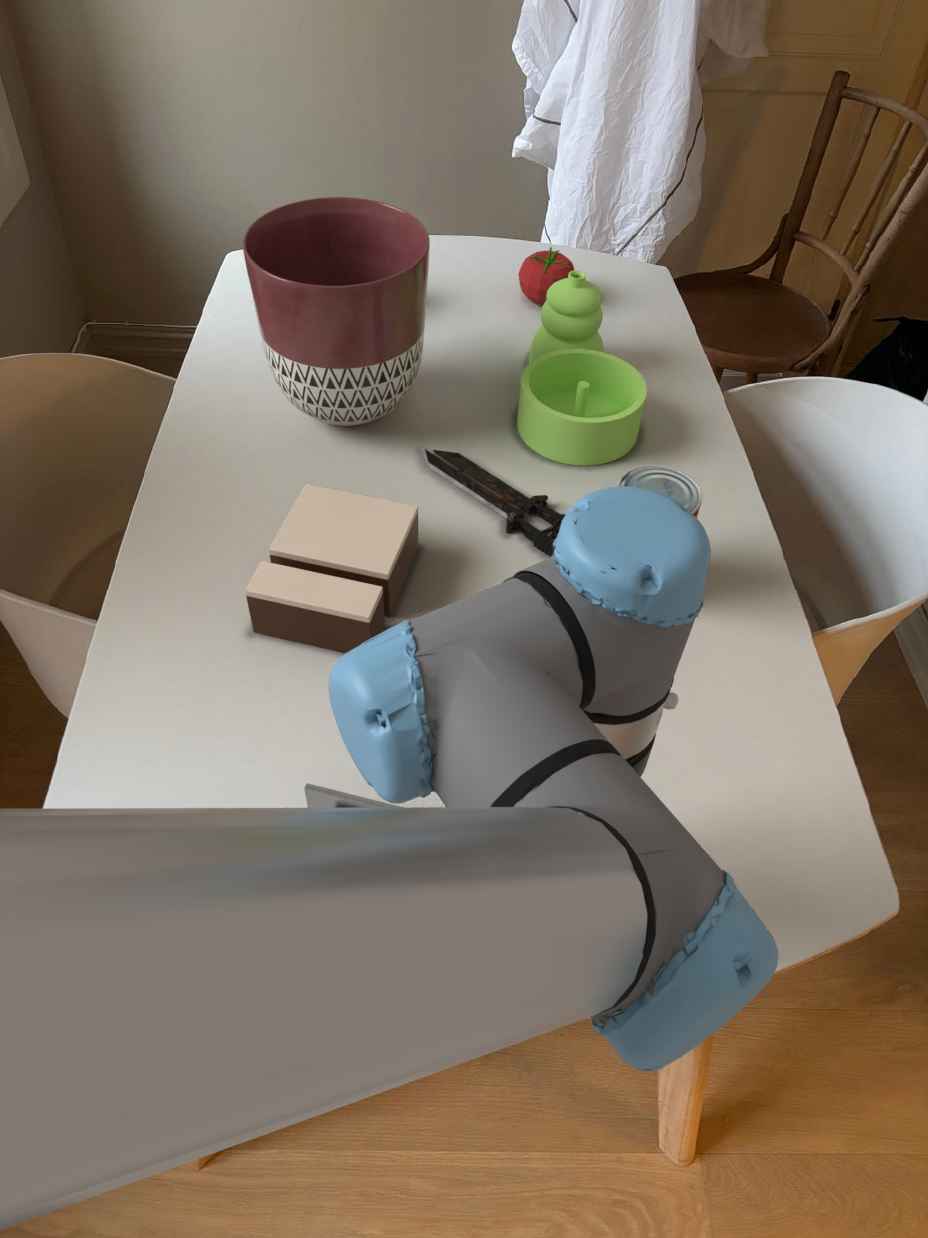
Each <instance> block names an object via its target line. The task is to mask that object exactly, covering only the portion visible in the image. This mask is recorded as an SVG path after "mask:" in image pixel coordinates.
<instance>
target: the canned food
mask: <svg viewBox="0 0 928 1238" xmlns="http://www.w3.org/2000/svg"><path fill="white" fill-rule="evenodd" d="M619 486H627V487H639V488H644V489H649V490H652V491H656V492H659V493H661V494H664V495H666V496H668V497H670V498H672V499H674V500H676V501H678V502H679V503H681V505H682V506H683V507H684V508H685V509H686V510H687V511H689V512H691V513H692V514H693V516H695V517H696V518H697V519H698V515H699V512H700V508H701V505H702V501H703V494H702V491H701V488H700V486H699V485H698V483H697V482H696V481H695V480H694V479H693V478H692V477H691V476H689V474H687V473H685V472H683V471H681V470H679V469H677V468H674V467H671V466H669V465H662V464H644V465H639V466H636V467H633V468H631V469H629V470H627V471H626V472H625V473H624V474H623V475H622V476H621V477H620V478H619V481H618V483H617V487H619Z"/></svg>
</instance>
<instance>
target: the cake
mask: <svg viewBox="0 0 928 1238" xmlns="http://www.w3.org/2000/svg"><path fill="white" fill-rule="evenodd" d="M418 550H419V506H418V505H416V504H410V503H404V502H400V501H395V500H389V499H385V498H380V497H374V496H370V495H365V494H360V493H356V492H350V491H346V490H345V491H344V490H341V489H335V488H330V487H325V486H320V485H315V484H311V483H310V484H309V483H305V484H304V486H303V488H302V489H301V492H300V493H299V495H298V497H297V498H296V500H295V502H294V504H293V506H292V508H291V509H290V511H289V512H288V514H287V516H286V518H285V520H284V521H283V523H282V525H281V527H280V528H279V530H278V531H277V534H276V535H275V537H274V539H273V540H272V542H271V544H270V545H269V547H268V554H269V560H270V561H269V562H270V563H274V564H279V565H284V566H288V567H293V568H297V569H302V570H307V571H311V572H316V573H321V574H325V575H330V576H335V577H339V578H344V579H349V580H353V581H358V582H363V583H367V584H372V585H377V586H381V587H383V602H384V617H391V615H392V612H393V611H394V608H395V606H396V603H397V601H398V598H399V596H400V594H401V591H402V589H403V587H404V584H405V582H406V579H407V577H408V574H409V572H410V569H411V567H412V564H413V563H414V560H415V558H416V555H417V553H418Z"/></svg>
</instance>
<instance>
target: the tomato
mask: <svg viewBox="0 0 928 1238" xmlns="http://www.w3.org/2000/svg"><path fill="white" fill-rule="evenodd" d="M571 271H575V266H574V264H573V262H572V261H571V260H570V259H569V258H568V257H567V256H566V255H564V253H561V250H559V249H558V250H555V251H554V250H553V247H552V246H550V247H549V250H540V251H539V250H538V251H536V252H534V253H532V254H530V255H528V256H527V257H525V258H524V260H523V262H522V263H521V266H520V268H519V271H518V283H519V287H520V291H521V292H522V294H523V295H524V296H525V297H526V298H527V299H528V300H529V301H530V302H531V303H533V304H535V305H538V306H543V305H544V303H545V302H546V300H547V299H546V297H547V291H548V289H549V288H550V287H551V286H552V284H554V283H555V282H557V281H559V280H562V279H565V278H568V274H569V272H571Z"/></svg>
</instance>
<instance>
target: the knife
mask: <svg viewBox="0 0 928 1238" xmlns="http://www.w3.org/2000/svg"><path fill="white" fill-rule="evenodd" d="M421 452H422V455H423V459H424V463H425V466H426V467H428V468H429V469H430V470H432V471H434V472H435V473H436V474H438V475H440V476H442V477H443V478H444V479H446V480H448V481H449V482H451V483H452V484H454V485H455V486H456V487H458V488H460V489H461V490H463V491H464V492H466V493H467V494H469V496H472V497H473V498H475V499H476V500H478V501H479V502H481V503H482V504H484V505H485V506H486V507H488V508H490V509H491V510H493V511H495V512H496V513H497V514H499V515H500V516H502V517H503V518H505V519H506V524H505V525H506V526H505V533H507V534H509V533H511V532H513V531H514V530H515V529H517V530H519V531H520V532H521V533H522V535H523V536H524V537H525V539H527V540H528V541H530V542H532V546H533V547H536V549H537V550H540V551H541V552H542V553H544V554H545V555H547V556H548V558H550V557H551V556H552V555H553V554H554V549H553V541H554V539H555V538H557V535H558V533H559V530H560V526H561V522H562V519H563V518H564V516H565V515H566V513H560V512H558V511H557V510H555V509H553V508H550V507H547V506H548V500H549V496H548V495H547V494H539V495H532V496H531V497H528V496H527V495H525V494H523V493H522V492H520V491H519V490H517V489H516V488H514V487H513V486H512V485H509V484H508V483H507V482H505V481H503V480H502V479H500V478H498V477H497V476H495V475H494V474H492V473H491V472H489V471H488V470H486V469H484V468H483V467H481V466H480V465H478V464H477V463H475V462H473V460H470V459H469V458H467V457H466V456H464V455H463V454H461V453H460V452H455V451H447V450H440V449H432V452H433V453H432V452H431V451H429V450H428V449H426V448H421ZM435 454H436V455H435ZM450 464H451V465H450ZM467 475H468V476H467ZM492 491H493V492H492ZM496 494H497V495H496ZM507 501H508V502H507ZM510 503H511V504H510ZM543 512H544V513H545V514H543ZM525 513H526V514H527V515H530V514H531V513H533V514H534V515H536V516H537V517H538V518H540V519H542V520H544V521H545V522H547V523H548V524H550V525H551V526H549V527H547V528H545V529H543V530H540V529H538V528H537V527H535V526H534V525H532V524H531V523H530V522H528V521H526V520H524V514H525ZM557 532H558V533H557Z"/></svg>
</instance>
